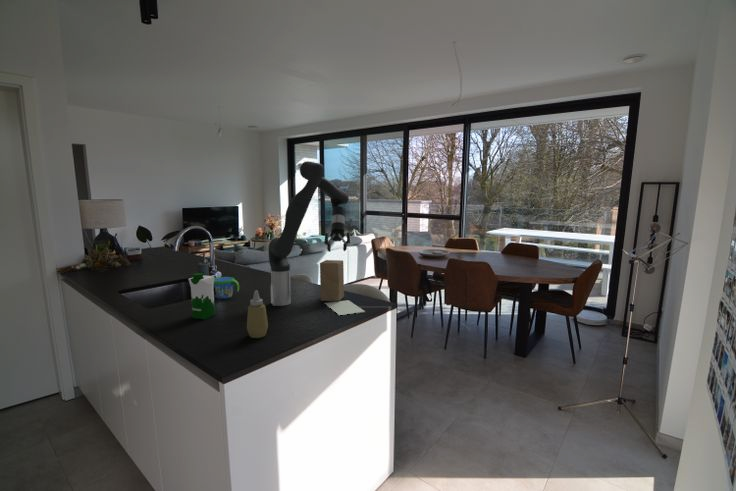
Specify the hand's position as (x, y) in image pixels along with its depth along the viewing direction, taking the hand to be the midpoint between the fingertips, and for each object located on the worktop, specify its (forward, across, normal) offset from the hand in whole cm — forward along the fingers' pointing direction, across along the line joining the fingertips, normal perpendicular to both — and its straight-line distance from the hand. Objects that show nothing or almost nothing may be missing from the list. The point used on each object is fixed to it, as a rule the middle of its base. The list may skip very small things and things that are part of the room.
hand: (336, 251), depth 202 cm
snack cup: (+26, -59, -7) cm, 65 cm away
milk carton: (+42, -51, -33) cm, 74 cm away
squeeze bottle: (+52, -17, -47) cm, 72 cm away
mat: (+34, +8, -10) cm, 37 cm away
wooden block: (+27, -1, +1) cm, 27 cm away
